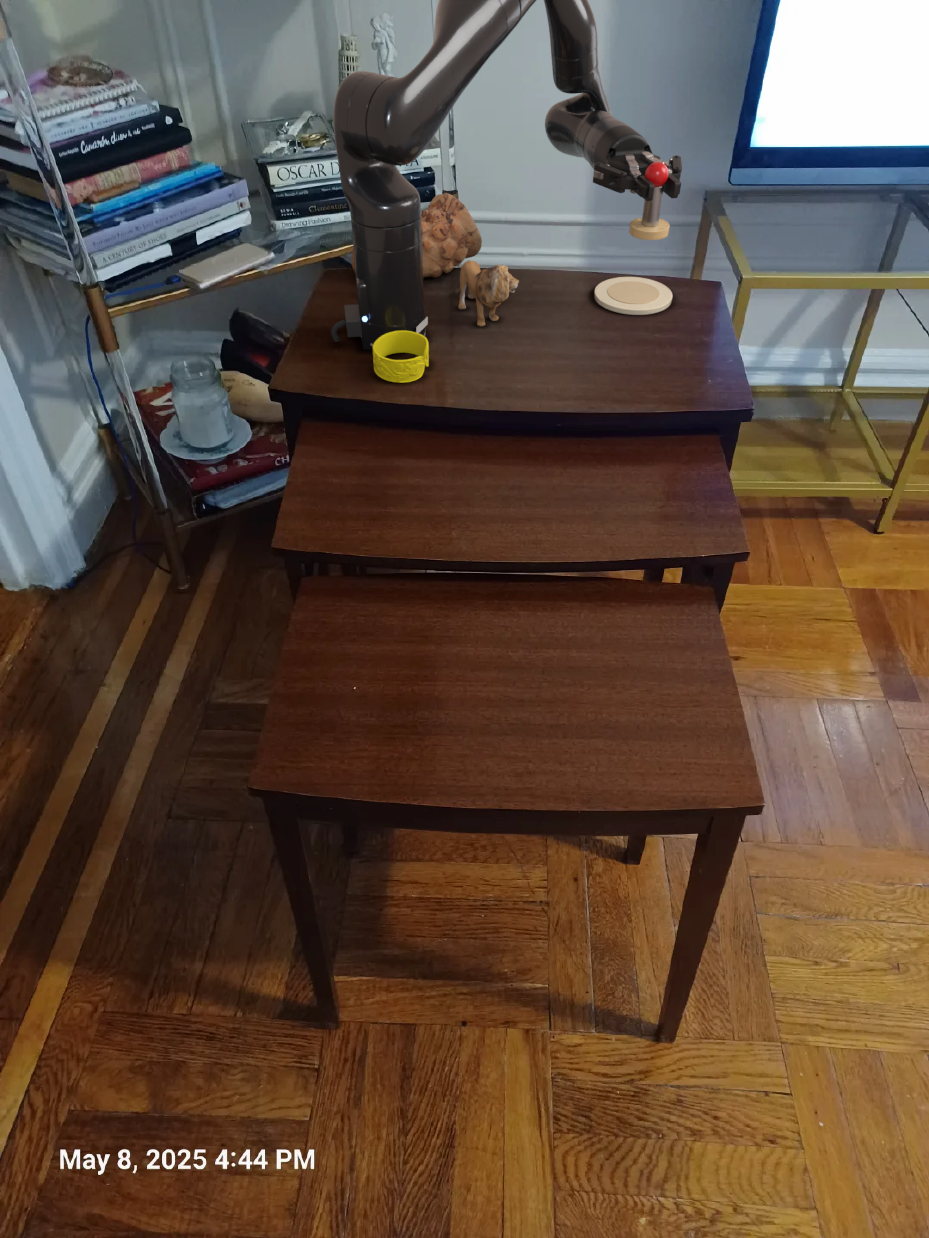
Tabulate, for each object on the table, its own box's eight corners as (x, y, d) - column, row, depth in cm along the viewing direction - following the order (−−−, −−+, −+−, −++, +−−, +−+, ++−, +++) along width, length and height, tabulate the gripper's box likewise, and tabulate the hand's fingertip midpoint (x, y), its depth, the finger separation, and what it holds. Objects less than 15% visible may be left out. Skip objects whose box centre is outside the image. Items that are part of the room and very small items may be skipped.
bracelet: (365, 377, 119) (364, 355, 117) (386, 347, 125) (385, 326, 122) (416, 387, 118) (416, 365, 116) (435, 356, 123) (435, 335, 121)
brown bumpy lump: (463, 317, 144) (492, 238, 147) (457, 280, 134) (489, 195, 136) (357, 289, 147) (387, 211, 149) (343, 250, 136) (375, 167, 139)
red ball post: (652, 243, 124) (663, 172, 117) (621, 233, 127) (629, 162, 120) (676, 232, 127) (687, 162, 120) (644, 222, 130) (653, 153, 123)
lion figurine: (521, 327, 130) (524, 266, 124) (491, 336, 128) (493, 275, 122) (466, 291, 139) (466, 233, 133) (437, 299, 137) (436, 240, 131)
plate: (605, 317, 132) (605, 312, 132) (585, 284, 141) (586, 278, 140) (682, 312, 134) (683, 306, 133) (658, 279, 142) (659, 273, 142)
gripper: (574, 128, 128) (619, 167, 116) (663, 121, 131) (716, 158, 119) (569, 183, 133) (612, 225, 122) (656, 175, 136) (706, 215, 124)
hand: (663, 192), depth 120 cm, fingers closed on red ball post, 3 cm apart
